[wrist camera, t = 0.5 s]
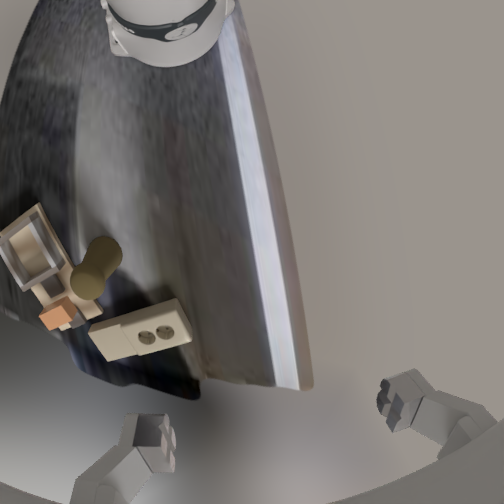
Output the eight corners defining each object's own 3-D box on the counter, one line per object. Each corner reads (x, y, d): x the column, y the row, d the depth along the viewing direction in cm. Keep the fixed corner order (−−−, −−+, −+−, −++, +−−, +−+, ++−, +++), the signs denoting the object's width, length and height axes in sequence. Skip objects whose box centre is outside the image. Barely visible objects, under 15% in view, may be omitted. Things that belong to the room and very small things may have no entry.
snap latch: (45, 306, 42) (38, 316, 39) (67, 295, 42) (61, 305, 39) (55, 320, 43) (49, 330, 40) (77, 310, 43) (72, 320, 40)
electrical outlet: (86, 336, 45) (175, 309, 46) (92, 323, 49) (176, 296, 49) (106, 364, 48) (192, 342, 49) (110, 350, 52) (192, 327, 52)
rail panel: (2, 231, 38) (-10, 239, 35) (39, 202, 38) (27, 209, 35) (63, 327, 48) (56, 340, 44) (103, 310, 48) (98, 323, 44)
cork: (120, 236, 43) (100, 267, 33) (124, 271, 45) (107, 308, 35) (86, 236, 42) (59, 266, 32) (91, 270, 44) (68, 306, 34)
